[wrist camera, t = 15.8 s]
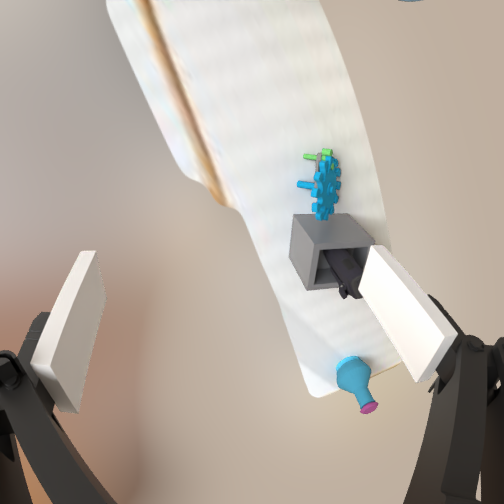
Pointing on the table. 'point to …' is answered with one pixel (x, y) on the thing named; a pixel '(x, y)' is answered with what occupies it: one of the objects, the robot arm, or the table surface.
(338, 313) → the table surface
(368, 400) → the perfume bottle
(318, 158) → the gear
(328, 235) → the charging dock
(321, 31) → the table surface
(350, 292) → the two-way radio
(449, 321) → the robot arm
